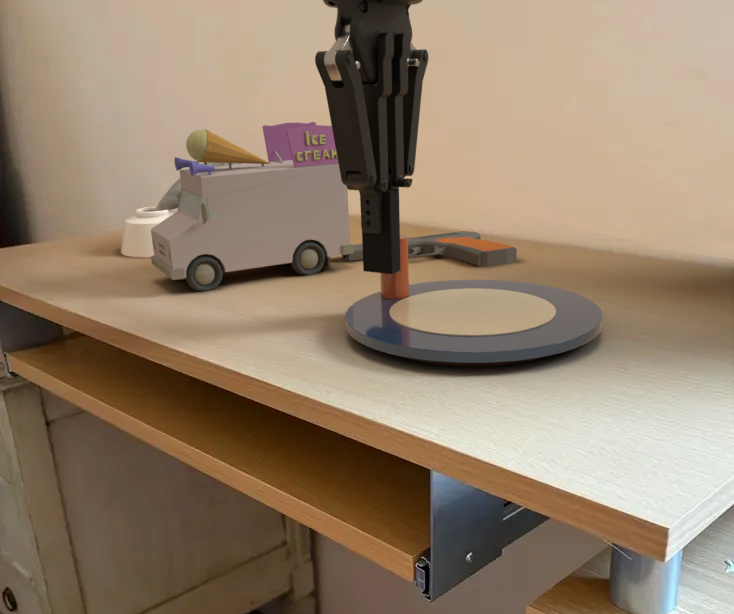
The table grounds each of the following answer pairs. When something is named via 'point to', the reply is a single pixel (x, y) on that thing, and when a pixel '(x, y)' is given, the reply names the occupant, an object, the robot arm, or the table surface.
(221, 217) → the toy vehicle
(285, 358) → the table surface
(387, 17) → the robot arm
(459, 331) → the plate
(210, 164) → the inkwell
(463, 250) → the handgun
